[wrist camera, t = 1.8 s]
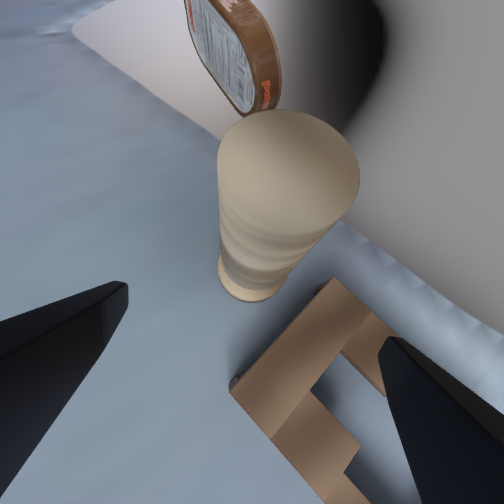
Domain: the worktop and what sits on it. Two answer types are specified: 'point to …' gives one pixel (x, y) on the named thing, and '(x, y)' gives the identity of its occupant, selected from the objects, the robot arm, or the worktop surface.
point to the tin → (237, 52)
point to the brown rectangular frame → (304, 377)
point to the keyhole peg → (278, 196)
